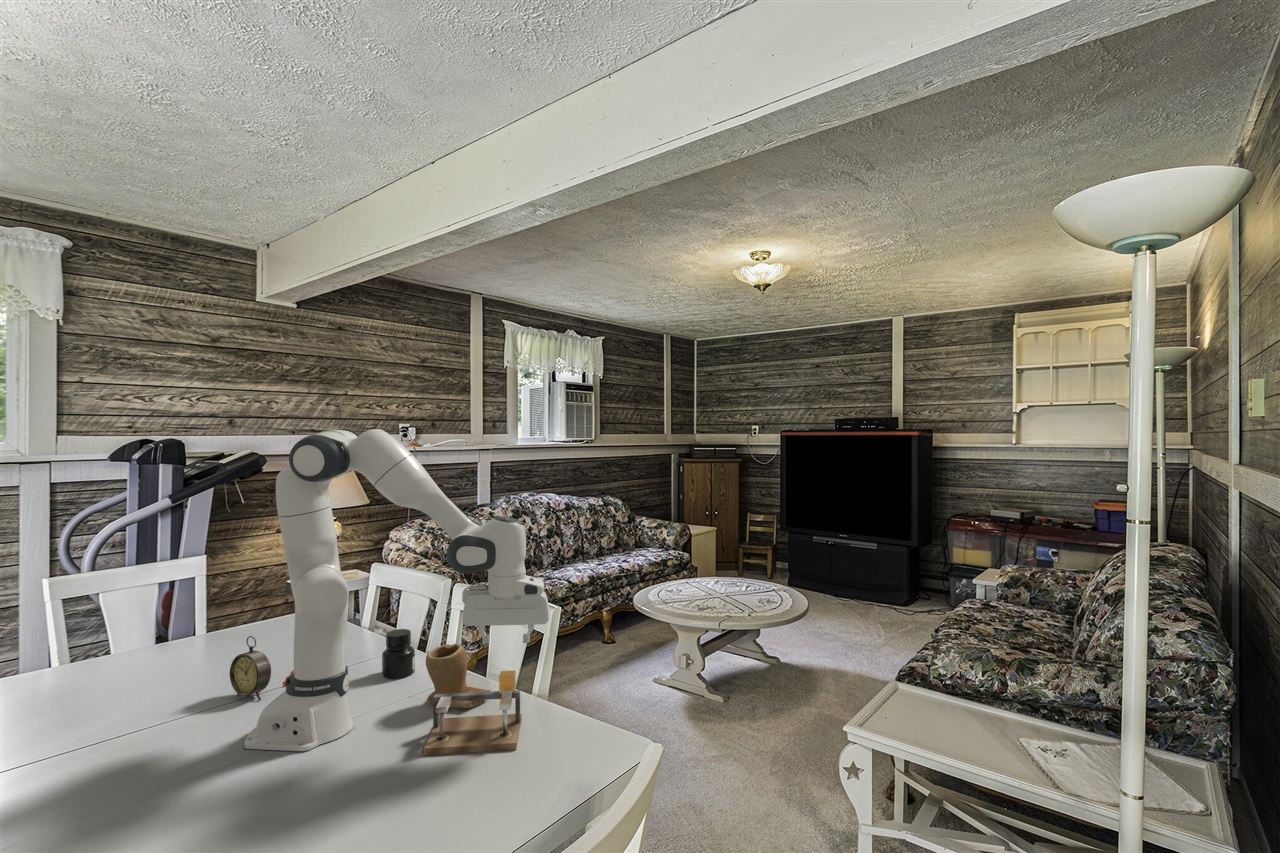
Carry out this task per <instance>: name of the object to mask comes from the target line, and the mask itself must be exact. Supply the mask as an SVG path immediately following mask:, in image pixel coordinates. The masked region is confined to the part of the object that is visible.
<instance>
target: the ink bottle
mask: <svg viewBox="0 0 1280 853" xmlns="http://www.w3.org/2000/svg"><path fill="white" fill-rule="evenodd" d="M411 637H412V632H411V630H410V629H407V628H399V629H393V630H389V631H388V632H386V633H385V647H386V648H385V650H384V651H383V652H382V654H381V671H382V672H381V674H382V677H384V679H385V678H386V679H389V680H398V679H403V678H406V677H409V676H411V675H412V674H413V673H415V670H416V654H415V653H416V651H415V648H414V647H413V646H412V645H411V644H412V643H411V642H412V638H411Z"/></svg>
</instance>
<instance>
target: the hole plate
mask: <svg viewBox="0 0 1280 853" xmlns="http://www.w3.org/2000/svg"><path fill="white" fill-rule="evenodd" d="M501 696H502V693H499V690H498V691H497V690H495V691H492V690H491V692H472V693H453V694H435V695H434V697H433V704H432V715H433V716H432V718H433V719H432V720H433V721H432V722H433V723H432V725H433V728H432V730H431V732H430V734H429V736H428V739H427V741H426V744H424V748H423V756H434V755H435V756H436V755H449V754H450V755H451V754H464V753H465V754H467V753H482V752H483V753H484V752H498V751H512V750H513V751H515V750H517V749H518V743H519V742H518V741H519V737H520V731H519V730H521V725H522V713H521V690H520V689H515V692H512V699H515V707H514V708H515V713H512V714H511V713H510V714H508V713H507V733H506V734H503V714H495V715H494V714H493V715H475V716H473V715H472V716H457V717H445V714H447V713H448V710H449V708H450V704H451V702H452V701H471V700H485V701H487V700H501ZM520 724H521V725H520ZM518 736H519V737H518Z"/></svg>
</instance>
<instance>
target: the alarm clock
mask: <svg viewBox="0 0 1280 853" xmlns="http://www.w3.org/2000/svg"><path fill="white" fill-rule="evenodd" d="M250 638H251V639H253V640H254V646H252V645H251V646H250V645H249V639H250ZM246 645H247V647H248V649H249V650H248V652H244V653H240V654H238V655H236V656H235V658H234V659H233V660H232V661H231V663H230V668H229V682H230V684H231V686H232V689H233V691H234V692H236V693H235V694H236V695H235V696H237V694H239V695H238V696H241V697H249V696H251V695H255V696H256V698H257V700H258V701H261V696H260V693H261V692H262V691H263V690H265V689H266V688H267V686H268V685H269V683H270V680H271V677H272V666H271V663H270V660H269V658H268V657H267V655H266V654H264V653H263V652H262V651H259V650H254V648H256V646H257V639H256V638H255V637H254V636H253V635H249V636H248V637H247V638H246ZM259 692H260V693H259Z"/></svg>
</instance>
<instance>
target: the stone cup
mask: <svg viewBox="0 0 1280 853" xmlns="http://www.w3.org/2000/svg"><path fill="white" fill-rule="evenodd" d="M425 666H426V670H427V673H428V675H429V678H430V679H431V682H432V684H433V686H434V687H433V688H434V691H432V692H431V693H430V694H429V695H428V696H427V698H426V699H427V700H426V701H427V702H429V703H430V704H432V705H433V697H434V695H435V694H453V693H472V692H492V690H491V689H484V688H479V687H474V686H473V687H472V686H468V685H467V683H466V682H467V674H468V673H467V671H468V654H467V650H466V649H465V647H464V646H463V645H462V644H460V643H454V644H442V645H439V646H437V647H435V648H432V649H431V650H430V651H429V652H428V653H427V655H426V656H425ZM485 701H486V700H471V701H452V702H451V704H450V706H449V708H450V707H451V708H460V709H471V708H475V707H477V706H479V705H481V704H482V703H484V702H485Z"/></svg>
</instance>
